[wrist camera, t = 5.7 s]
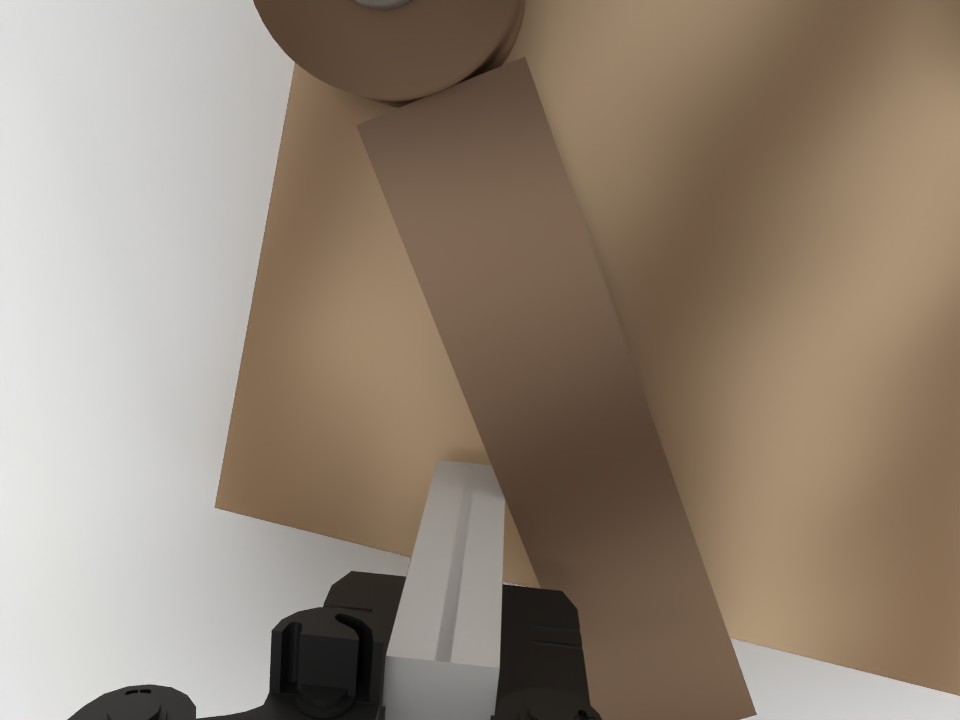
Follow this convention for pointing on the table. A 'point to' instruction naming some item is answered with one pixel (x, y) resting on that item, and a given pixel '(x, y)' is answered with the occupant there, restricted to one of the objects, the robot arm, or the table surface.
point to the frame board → (672, 310)
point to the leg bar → (530, 336)
